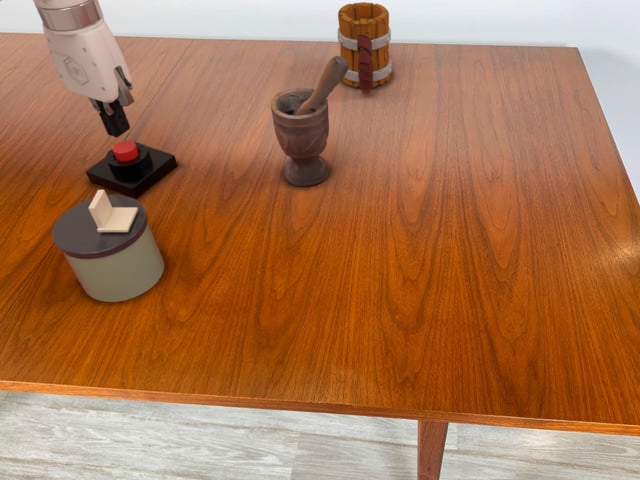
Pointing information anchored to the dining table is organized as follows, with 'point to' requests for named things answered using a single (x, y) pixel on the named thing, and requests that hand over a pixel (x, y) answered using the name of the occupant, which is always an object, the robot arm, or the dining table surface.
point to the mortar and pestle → (306, 125)
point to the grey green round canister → (109, 252)
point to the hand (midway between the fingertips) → (119, 131)
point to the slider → (111, 214)
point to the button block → (132, 171)
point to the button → (125, 150)
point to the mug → (365, 44)
